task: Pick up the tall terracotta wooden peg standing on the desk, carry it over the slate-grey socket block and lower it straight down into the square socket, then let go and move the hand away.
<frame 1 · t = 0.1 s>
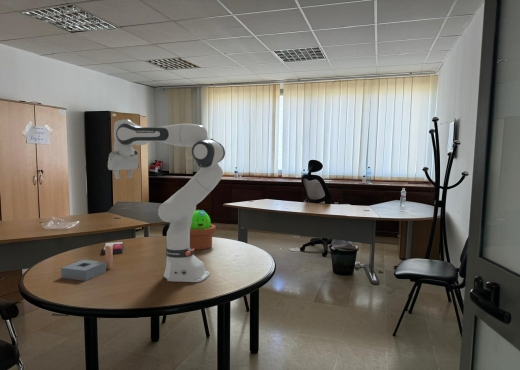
hand: (123, 178, 175), 48 cm above the table, tool pointing down, fingers open, 8 cm apart
potted cactus: (198, 246, 227), on the table
peg: (109, 268, 180), on the table
socket block: (84, 274, 170), on the table
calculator: (113, 251, 213), on the table
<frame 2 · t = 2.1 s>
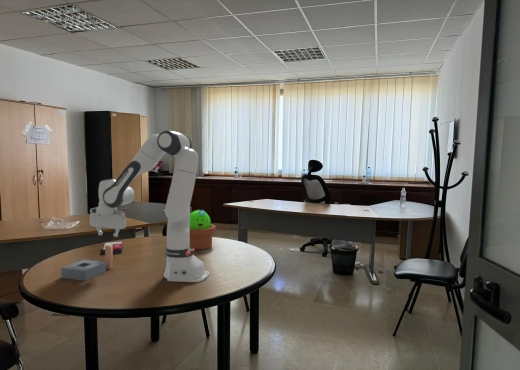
hand: (108, 235, 179), 17 cm above the table, tool pointing down, fingers open, 8 cm apart
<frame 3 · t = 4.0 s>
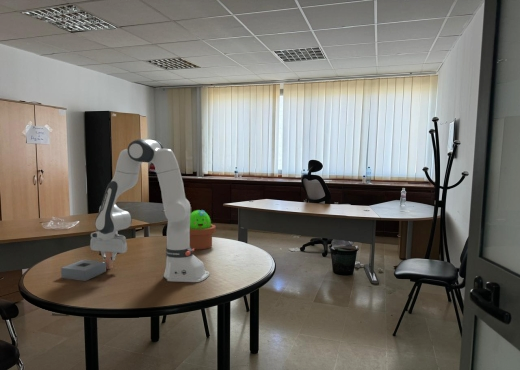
hand: (109, 259, 180), 5 cm above the table, tool pointing down, fingers closed on peg, 3 cm apart
peg: (109, 268, 180), on the table, touching gripper
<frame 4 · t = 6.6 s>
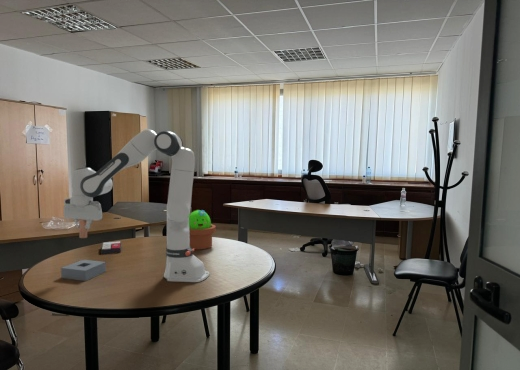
hand: (83, 228, 168), 23 cm above the table, tool pointing down, fingers closed on peg, 3 cm apart
peg: (83, 237, 169), point 19 cm above the table, touching gripper
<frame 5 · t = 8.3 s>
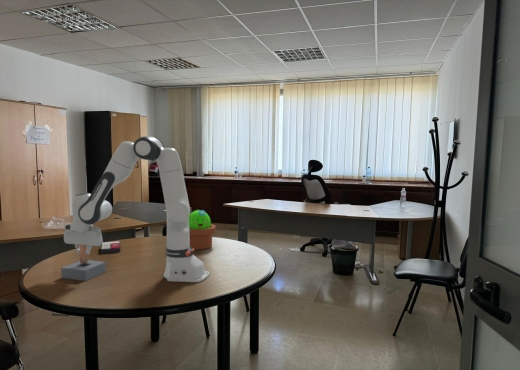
hand: (83, 253, 169), 11 cm above the table, tool pointing down, fingers closed on peg, 3 cm apart
peg: (83, 262, 169), point 6 cm above the table, touching gripper
when the fingers open (7 cm above the table, at t = 9.4 s): peg stays where it is, resting on socket block.
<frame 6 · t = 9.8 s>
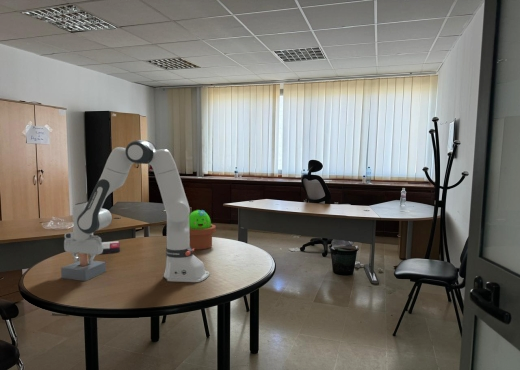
hand: (84, 261, 169), 7 cm above the table, tool pointing down, fingers open, 7 cm apart
peg: (84, 272, 170), point 1 cm above the table, touching socket block
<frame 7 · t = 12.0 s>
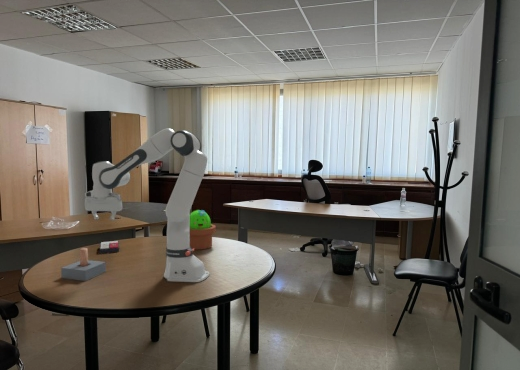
hand: (104, 219, 176), 27 cm above the table, tool pointing down, fingers open, 8 cm apart
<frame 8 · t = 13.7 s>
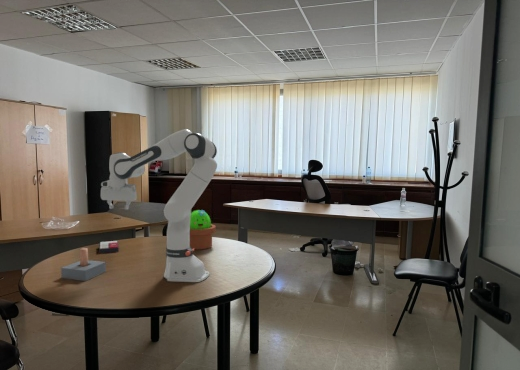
hand: (119, 209, 182), 31 cm above the table, tool pointing down, fingers open, 8 cm apart
at the end: peg 0.0 cm off-centre on the socket block, point 1.0 cm above the socket block's base; peg tilted 0°; the gripper is holding nothing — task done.
